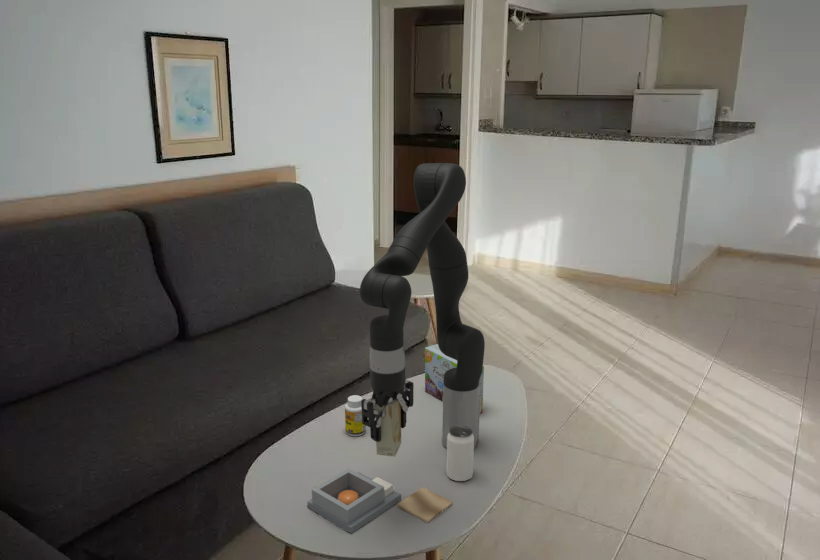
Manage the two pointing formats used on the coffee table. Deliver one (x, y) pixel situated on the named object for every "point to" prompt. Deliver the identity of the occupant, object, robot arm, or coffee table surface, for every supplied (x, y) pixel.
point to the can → (460, 453)
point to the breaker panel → (361, 511)
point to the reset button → (348, 496)
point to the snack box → (442, 373)
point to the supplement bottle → (354, 416)
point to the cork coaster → (424, 504)
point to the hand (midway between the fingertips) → (389, 433)
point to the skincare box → (390, 429)
